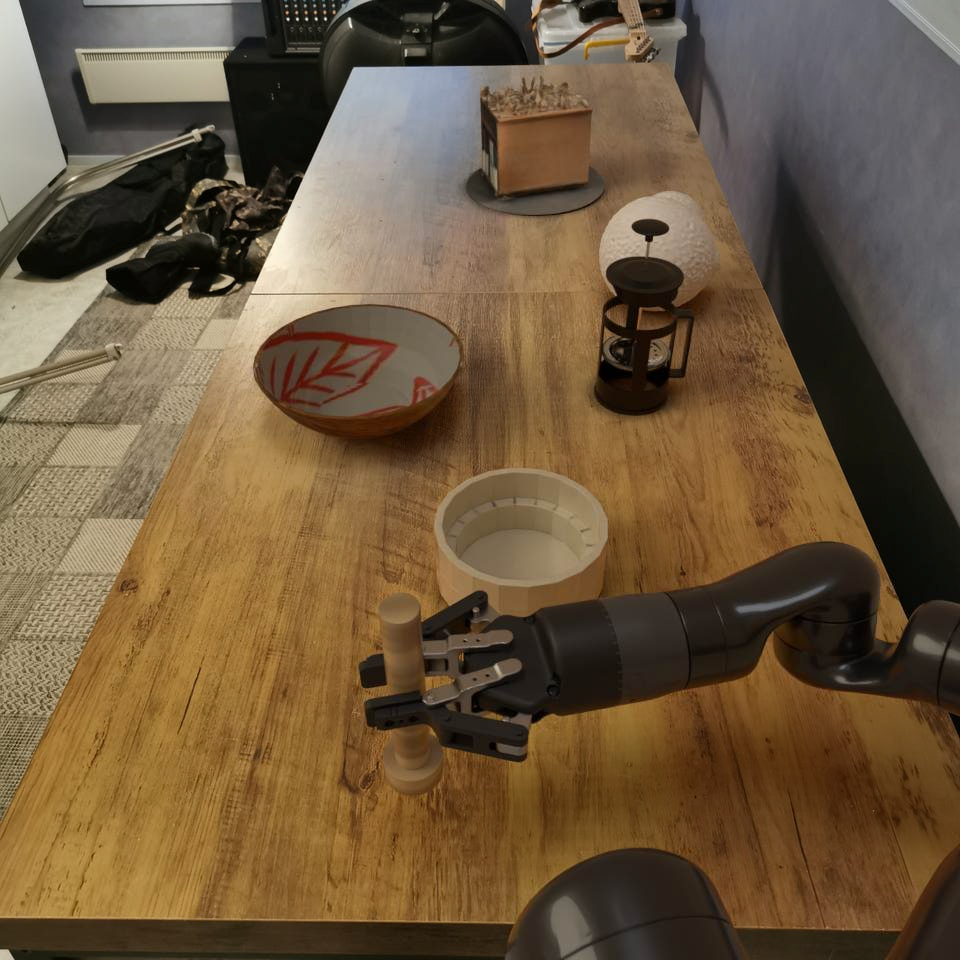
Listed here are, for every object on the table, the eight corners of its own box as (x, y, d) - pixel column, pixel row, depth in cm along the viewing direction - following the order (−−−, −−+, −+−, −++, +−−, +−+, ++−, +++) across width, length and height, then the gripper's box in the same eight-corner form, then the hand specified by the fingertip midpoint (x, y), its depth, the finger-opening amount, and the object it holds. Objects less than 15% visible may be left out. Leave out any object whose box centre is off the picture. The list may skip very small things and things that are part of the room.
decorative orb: (570, 321, 132) (576, 215, 121) (594, 264, 144) (602, 164, 134) (712, 341, 127) (731, 233, 117) (724, 281, 140) (743, 179, 130)
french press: (591, 415, 114) (606, 243, 99) (585, 372, 122) (599, 206, 107) (686, 415, 114) (715, 243, 99) (675, 373, 121) (701, 206, 106)
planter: (545, 229, 154) (549, 114, 142) (437, 189, 167) (433, 81, 155) (631, 183, 168) (642, 75, 156) (525, 149, 181) (528, 47, 169)
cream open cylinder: (624, 624, 89) (631, 570, 84) (454, 654, 86) (452, 599, 81) (575, 511, 101) (579, 457, 96) (425, 533, 99) (421, 480, 94)
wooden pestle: (448, 790, 68) (440, 628, 56) (388, 801, 67) (368, 640, 55) (438, 739, 71) (428, 576, 59) (380, 750, 70) (360, 587, 59)
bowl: (245, 379, 121) (234, 326, 116) (426, 340, 128) (423, 288, 123) (289, 497, 103) (278, 440, 98) (496, 443, 110) (496, 388, 105)
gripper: (636, 767, 62) (379, 818, 59) (576, 613, 72) (356, 650, 70) (649, 699, 57) (370, 751, 54) (583, 544, 68) (346, 581, 65)
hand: (363, 694), depth 62 cm, fingers closed on wooden pestle, 2 cm apart
